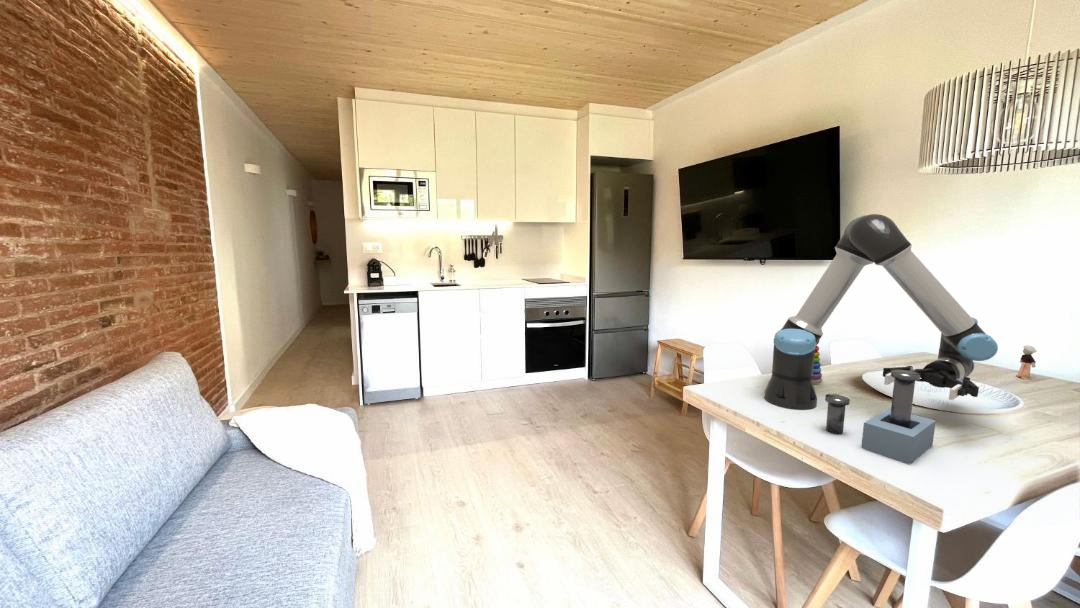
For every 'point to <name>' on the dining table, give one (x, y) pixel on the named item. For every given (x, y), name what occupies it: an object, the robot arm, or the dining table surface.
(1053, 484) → the dining table surface
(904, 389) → the tall pin
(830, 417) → the short pin
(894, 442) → the guide block
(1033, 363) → the grandmother figurine
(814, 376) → the stacking toy
